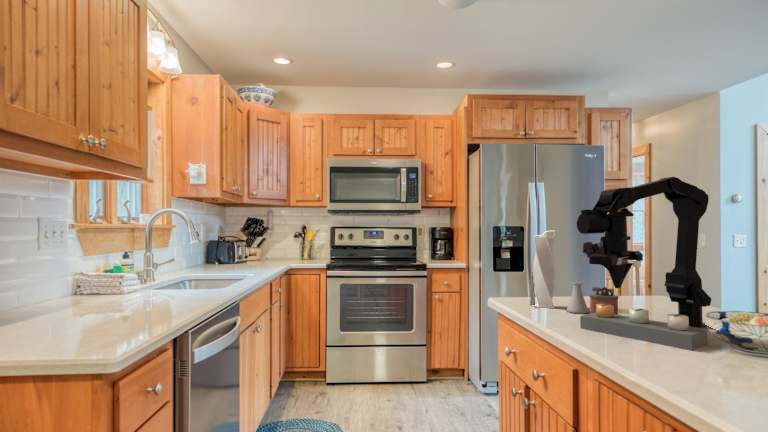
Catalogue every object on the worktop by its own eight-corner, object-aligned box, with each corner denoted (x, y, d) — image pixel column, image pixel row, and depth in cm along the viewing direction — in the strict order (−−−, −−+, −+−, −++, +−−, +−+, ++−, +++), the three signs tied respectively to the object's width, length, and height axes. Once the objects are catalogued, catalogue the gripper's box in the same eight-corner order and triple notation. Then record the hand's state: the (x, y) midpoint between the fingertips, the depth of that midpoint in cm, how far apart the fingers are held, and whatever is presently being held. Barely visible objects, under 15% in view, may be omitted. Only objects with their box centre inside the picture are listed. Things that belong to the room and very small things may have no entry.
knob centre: (634, 331, 115) (634, 307, 115) (652, 335, 111) (651, 309, 111) (626, 334, 112) (626, 309, 113) (644, 337, 109) (644, 311, 109)
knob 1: (601, 325, 122) (601, 302, 122) (617, 328, 119) (616, 304, 119) (593, 327, 120) (593, 304, 120) (609, 330, 116) (608, 306, 116)
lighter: (619, 319, 131) (618, 287, 131) (618, 321, 128) (617, 288, 128) (590, 316, 135) (589, 285, 135) (589, 318, 132) (588, 286, 132)
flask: (592, 314, 138) (591, 284, 139) (568, 313, 140) (568, 283, 140) (586, 310, 146) (585, 281, 146) (563, 309, 147) (563, 280, 147)
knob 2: (671, 338, 108) (671, 312, 108) (692, 342, 104) (691, 315, 104) (664, 341, 105) (663, 314, 105) (685, 345, 101) (684, 317, 102)
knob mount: (598, 323, 126) (598, 311, 126) (707, 343, 104) (707, 329, 104) (580, 328, 120) (580, 315, 120) (691, 350, 98) (691, 335, 98)
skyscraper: (553, 305, 156) (551, 230, 156) (560, 310, 148) (558, 230, 148) (529, 305, 156) (528, 230, 157) (535, 309, 148) (534, 230, 149)
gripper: (604, 232, 131) (606, 282, 131) (570, 234, 121) (572, 288, 120) (642, 231, 122) (644, 285, 122) (609, 234, 111) (611, 293, 111)
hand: (617, 288), depth 119 cm, fingers closed
